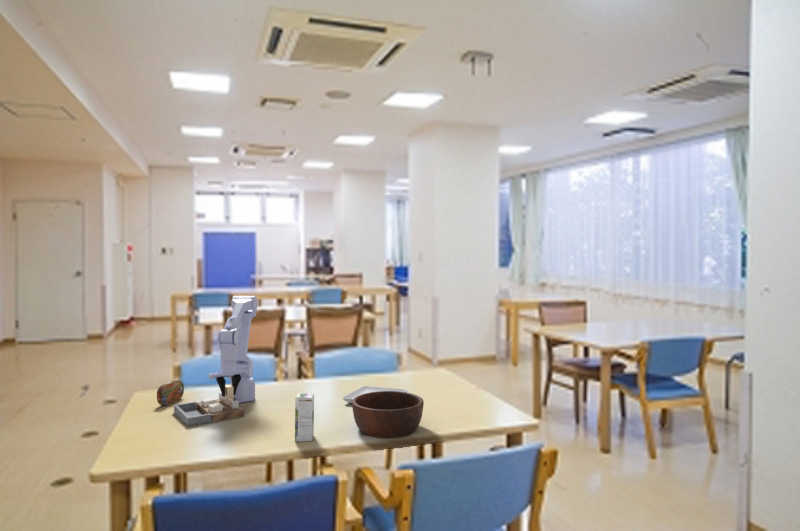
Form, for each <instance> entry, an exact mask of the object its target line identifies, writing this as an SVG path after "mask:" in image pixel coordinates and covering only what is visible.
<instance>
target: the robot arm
mask: <svg viewBox="0 0 800 531" xmlns="http://www.w3.org/2000/svg"><path fill="white" fill-rule="evenodd" d="M230 304H231V309H232V314H231V316H230V317H227V320H226V322H225V324H224V327H223V329H221V330H219V332H218V336H217V342H218V345H219V346H218V348H219V349H218V350H220V371H217V372H211V373H208V380H214V379H215V380H216V381H215V382H217V384H218V386H219V390H220V392H221V394H222V396H223V397H225V385H226V382H227V380H226V379H225V378H227V379H228V380H229V381H230V385H232V386H233V387H234V398H236V399H237V400H239V404H242V403H246V402H251V401H256V383H255V379H254V378H253V377H252V376H253V372H254V365H253V364H254V362H253V360H252V358H250V357H249V356H248V352H249V351H248V350H249V342H250V332H251V325H252V320H253V318H255V317H256V316H257V311H258V298H257V296H256V295H233V296H232V298H231V303H230Z"/></svg>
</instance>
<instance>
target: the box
mask: <svg viewBox="0 0 800 531" xmlns="http://www.w3.org/2000/svg"><path fill="white" fill-rule="evenodd" d="M196 403H197V402H196V401H191V402H184V403H178V404H174V405H173V413H174V415H176V417H178V418H179V420H180V421H182V422H183V424H184V425H186V426H187V427H192V426H193V427H194V425H195V426H199V424H200V425H204V424H210V423H212V422H211V414H205V415H203V414H202V413H201V412H199V411H198V410H197V409H196Z"/></svg>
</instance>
